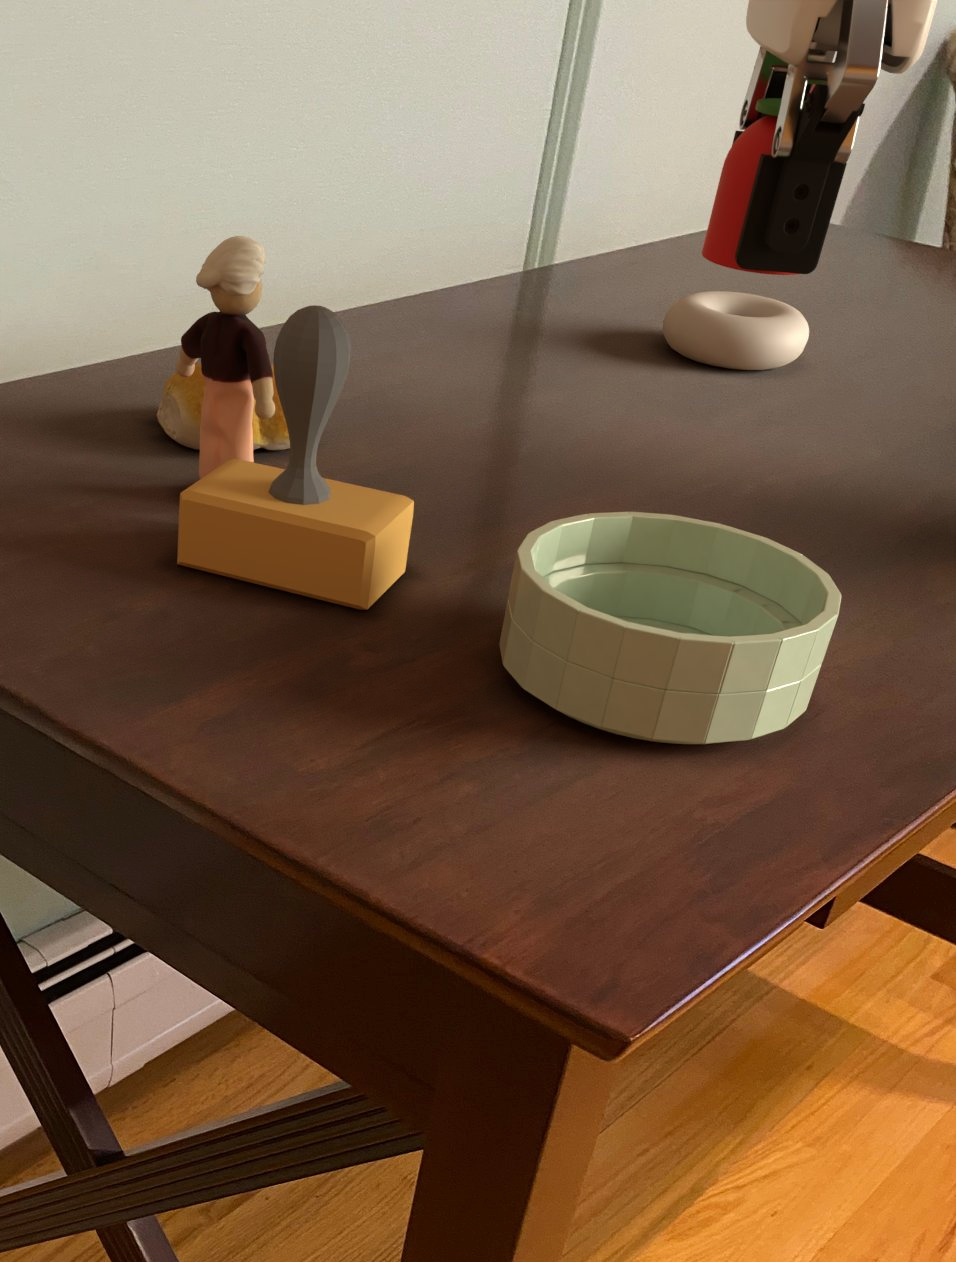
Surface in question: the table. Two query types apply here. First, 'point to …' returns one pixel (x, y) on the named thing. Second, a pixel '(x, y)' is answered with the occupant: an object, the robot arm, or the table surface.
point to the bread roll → (185, 409)
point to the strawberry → (739, 187)
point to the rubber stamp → (299, 493)
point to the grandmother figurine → (229, 354)
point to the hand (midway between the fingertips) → (761, 249)
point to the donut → (735, 330)
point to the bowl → (667, 626)
